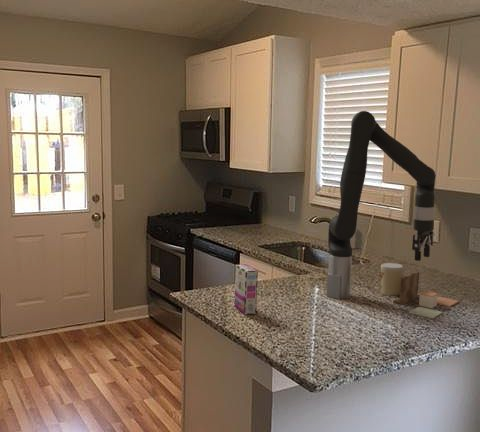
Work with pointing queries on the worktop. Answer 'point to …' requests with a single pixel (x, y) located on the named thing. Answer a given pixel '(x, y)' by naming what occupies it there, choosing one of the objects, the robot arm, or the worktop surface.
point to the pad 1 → (426, 312)
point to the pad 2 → (446, 301)
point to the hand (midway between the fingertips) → (422, 258)
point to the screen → (408, 288)
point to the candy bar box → (246, 289)
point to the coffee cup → (391, 278)
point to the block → (428, 299)
